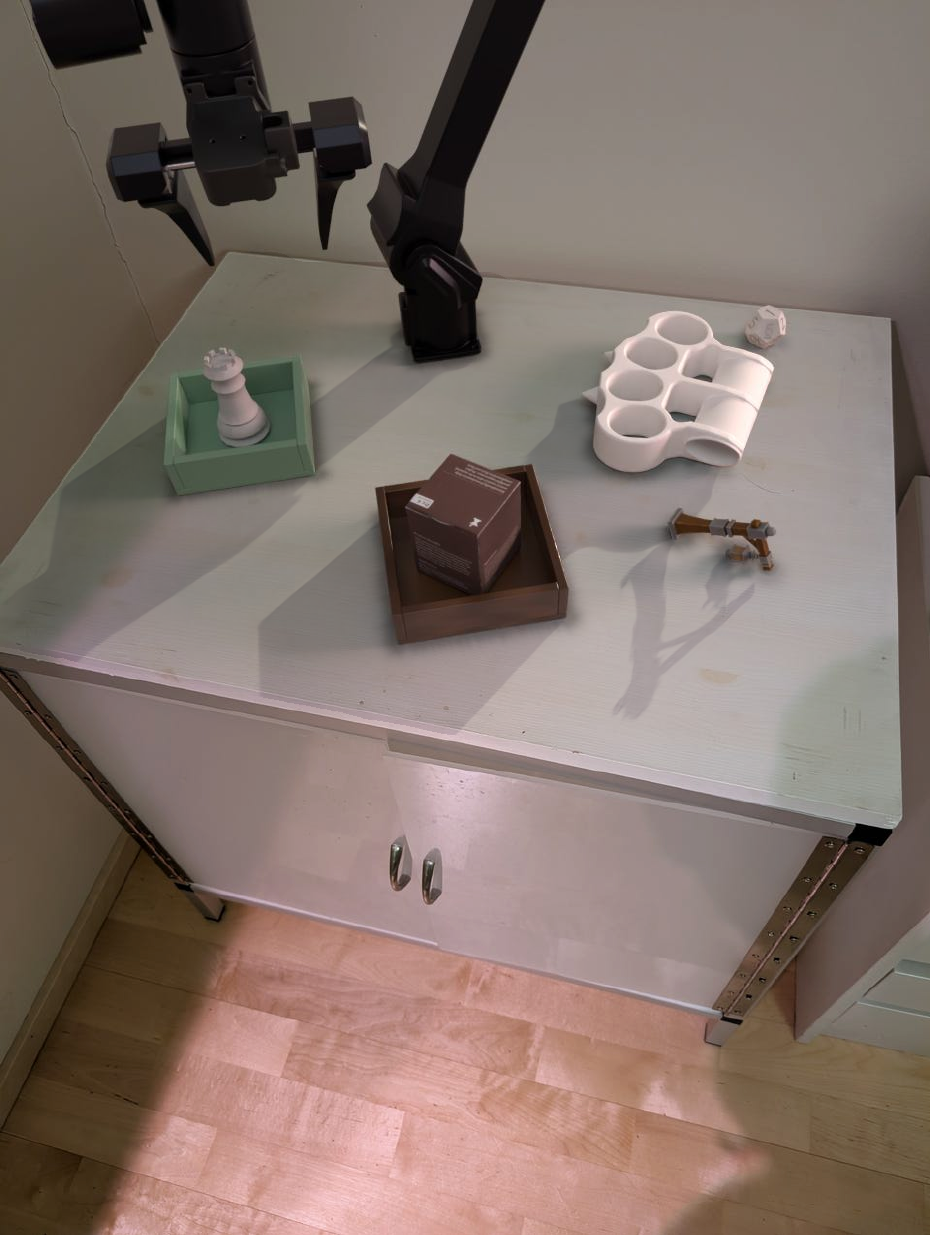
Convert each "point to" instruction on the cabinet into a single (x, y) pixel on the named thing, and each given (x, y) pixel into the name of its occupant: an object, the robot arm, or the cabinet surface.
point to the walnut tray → (443, 610)
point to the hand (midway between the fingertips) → (268, 255)
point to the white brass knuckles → (676, 396)
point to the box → (465, 525)
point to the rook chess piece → (234, 401)
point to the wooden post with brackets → (723, 527)
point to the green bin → (215, 465)
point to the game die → (765, 326)
